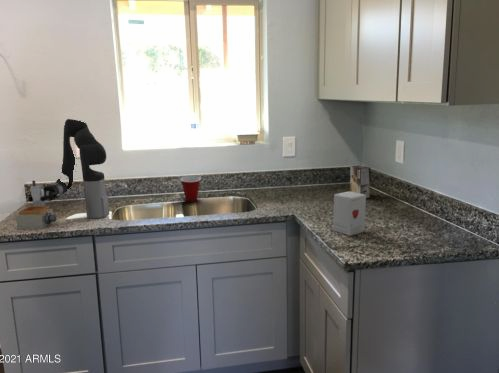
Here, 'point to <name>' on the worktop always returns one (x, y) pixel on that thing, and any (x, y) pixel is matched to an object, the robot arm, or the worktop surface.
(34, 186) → the moka pot
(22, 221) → the gearbox
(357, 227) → the supplement box
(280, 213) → the worktop surface
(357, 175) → the coffee box
